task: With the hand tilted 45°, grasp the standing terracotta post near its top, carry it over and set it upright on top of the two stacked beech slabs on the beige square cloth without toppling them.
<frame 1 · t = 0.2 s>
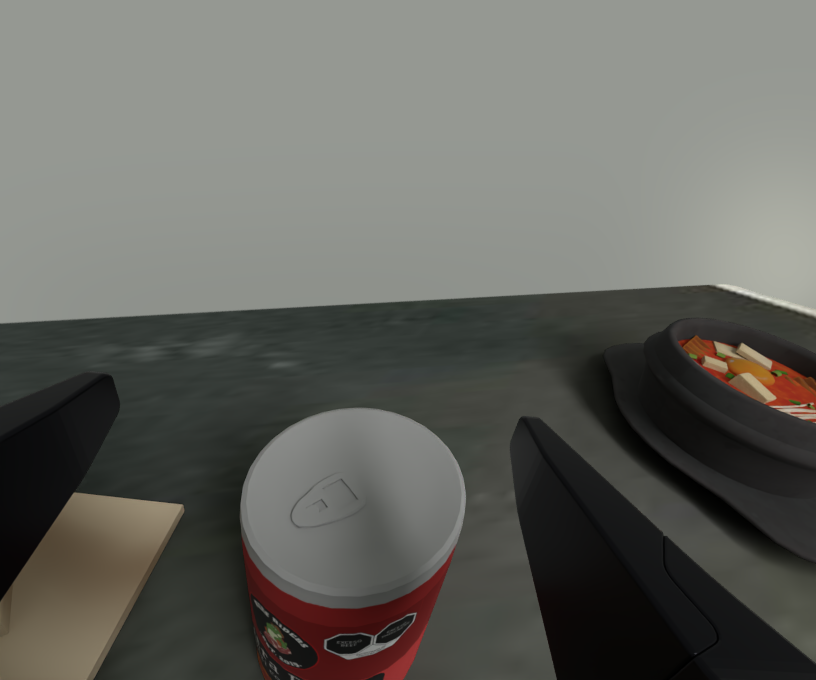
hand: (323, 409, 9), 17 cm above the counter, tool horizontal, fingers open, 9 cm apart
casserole: (712, 443, 37), on the counter
canned food: (341, 625, 21), on the counter
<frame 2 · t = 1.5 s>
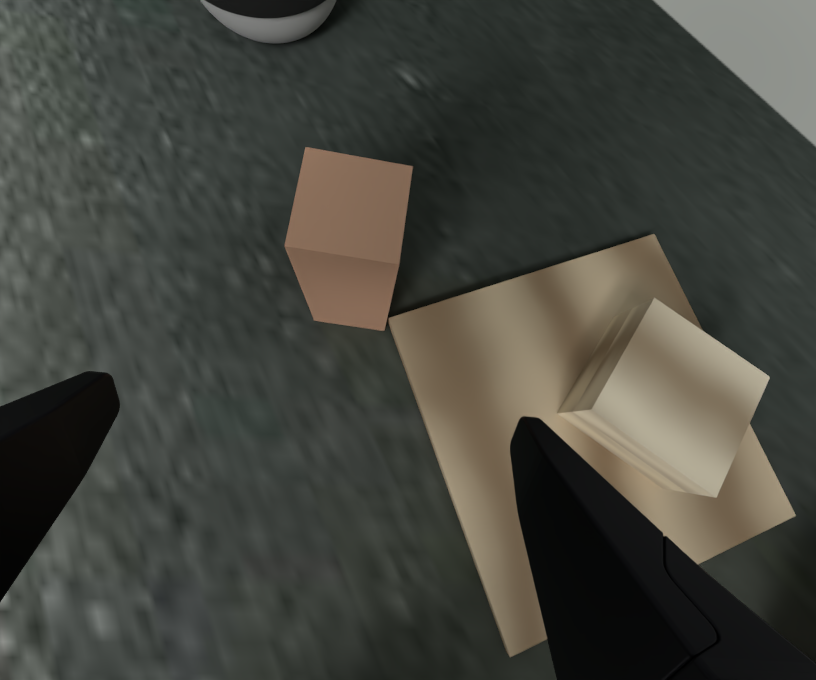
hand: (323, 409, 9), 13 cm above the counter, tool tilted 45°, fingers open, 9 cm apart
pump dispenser: (275, 11, 28), on the counter
slab top: (658, 396, 22), point 2 cm above the counter, touching slab bottom
post: (355, 292, 24), on the counter
slab bottom: (636, 399, 24), point 1 cm above the counter, touching beige square cloth, slab top
beige square cloth: (586, 417, 24), on the counter
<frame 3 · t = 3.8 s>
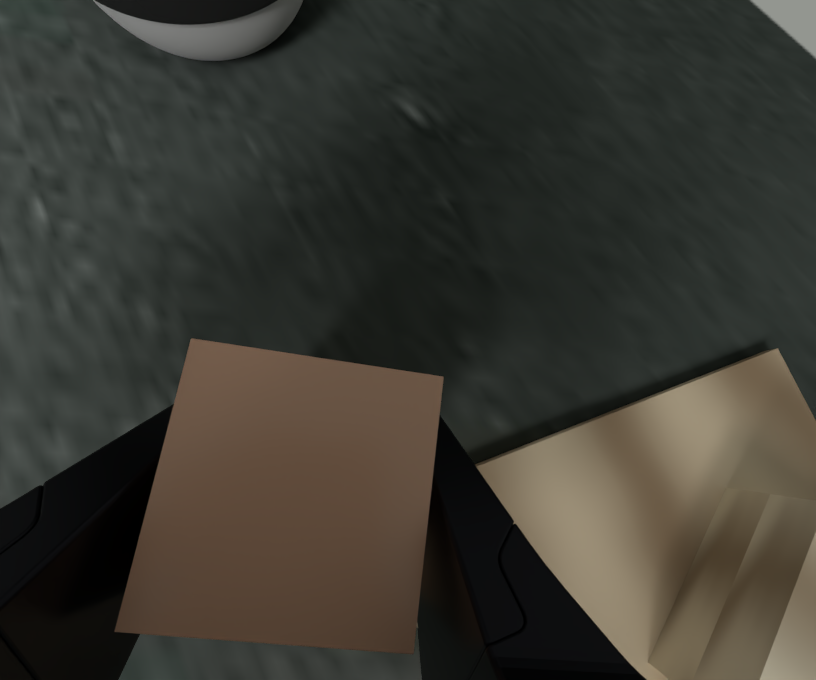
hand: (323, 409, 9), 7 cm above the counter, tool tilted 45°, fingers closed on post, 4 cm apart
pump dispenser: (220, 12, 19), on the counter
post: (326, 456, 15), on the counter, touching gripper
slab bottom: (769, 628, 15), point 1 cm above the counter, touching beige square cloth, slab top
beige square cloth: (689, 656, 15), on the counter
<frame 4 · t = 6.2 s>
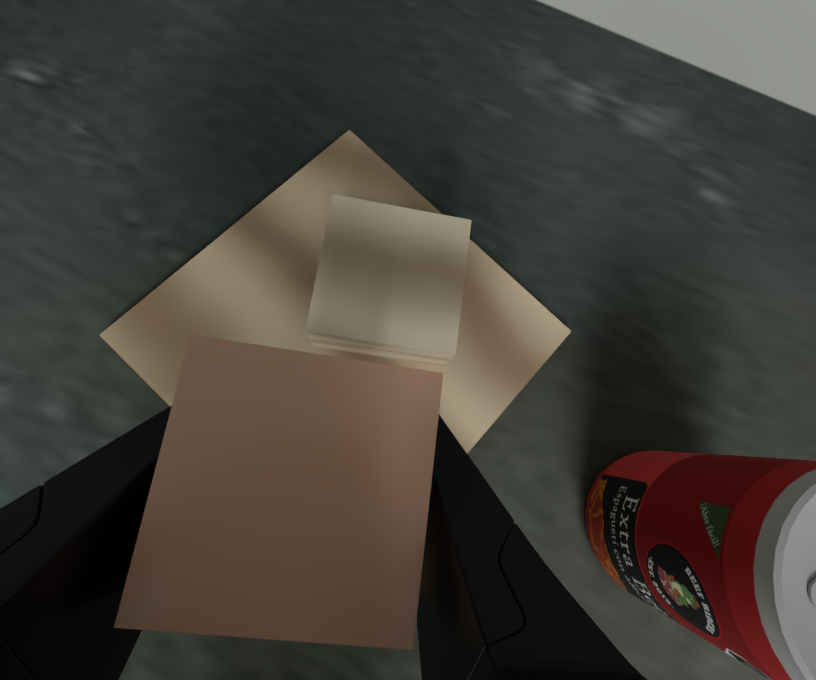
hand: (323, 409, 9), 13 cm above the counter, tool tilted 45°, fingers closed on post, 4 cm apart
slab top: (390, 285, 22), point 2 cm above the counter, touching slab bottom
post: (326, 454, 15), point 7 cm above the counter, touching gripper
slab bottom: (388, 296, 23), point 1 cm above the counter, touching beige square cloth, slab top
canned food: (646, 519, 23), on the counter
beige square cloth: (350, 335, 23), on the counter
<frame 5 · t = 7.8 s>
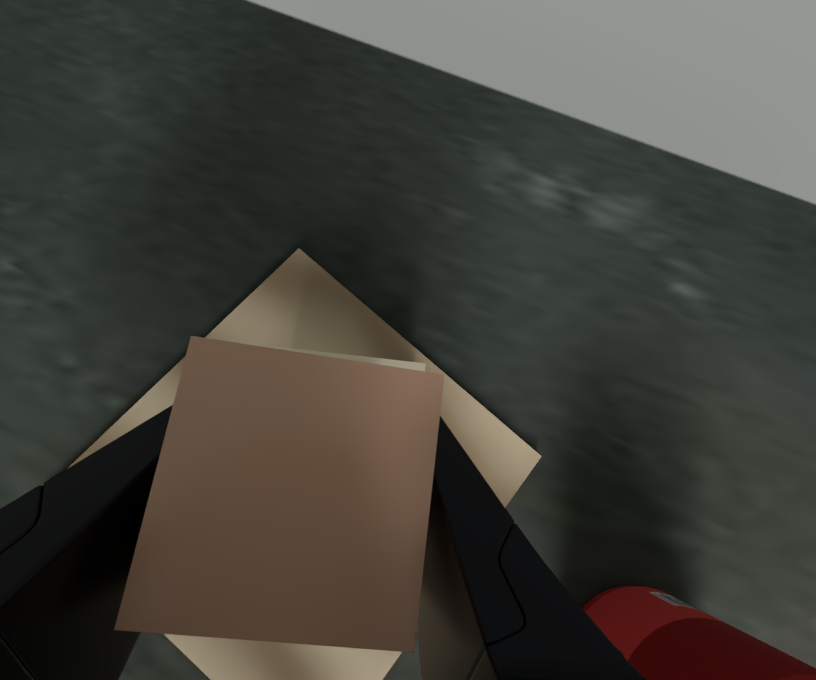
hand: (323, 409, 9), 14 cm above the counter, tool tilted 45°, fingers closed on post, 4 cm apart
slab top: (343, 432, 20), point 2 cm above the counter, touching slab bottom
post: (326, 455, 15), point 7 cm above the counter, touching gripper
canned food: (629, 659, 22), on the counter
beige square cloth: (306, 477, 22), on the counter
when the fingers open (12 cm above the counter, at t = 8.8 s): post moves 1 cm, resting on slab top.
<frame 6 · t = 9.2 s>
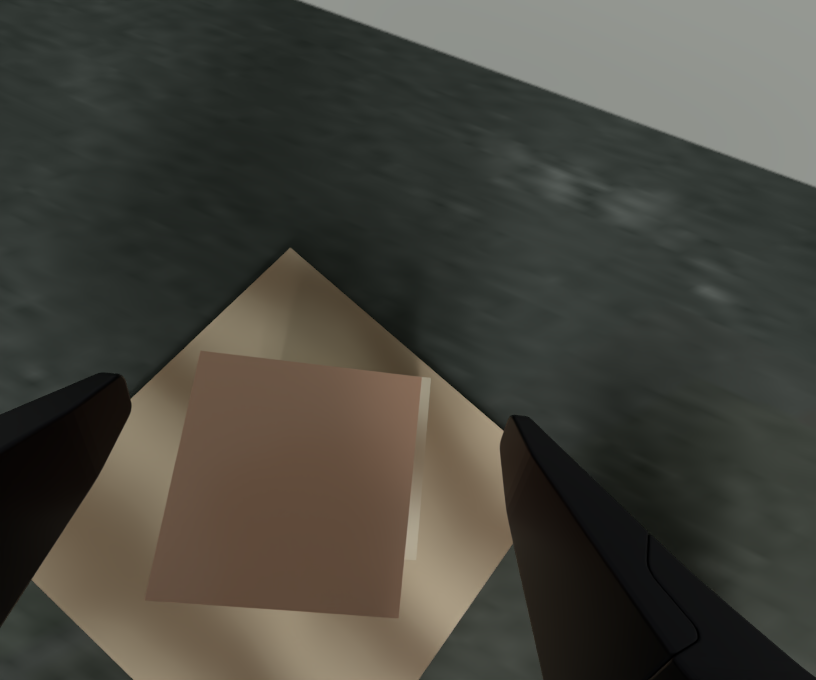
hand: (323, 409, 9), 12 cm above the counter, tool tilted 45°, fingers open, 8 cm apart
slab top: (338, 454, 18), point 2 cm above the counter, touching post, slab bottom
post: (332, 453, 16), point 4 cm above the counter, touching slab top
beige square cloth: (297, 502, 20), on the counter
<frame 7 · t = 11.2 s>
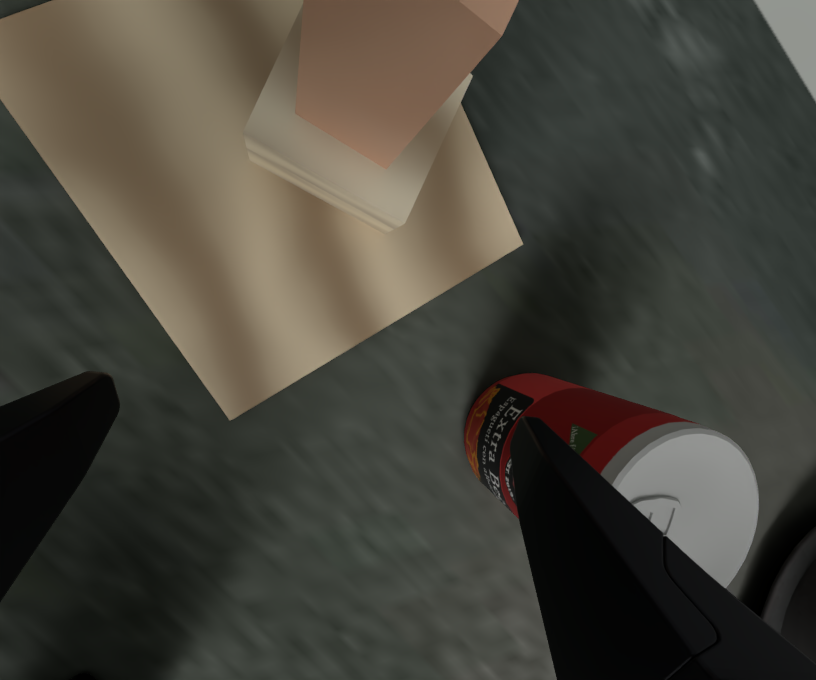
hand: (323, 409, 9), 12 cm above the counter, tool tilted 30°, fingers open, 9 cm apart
slab top: (357, 119, 18), point 2 cm above the counter, touching post, slab bottom
post: (363, 97, 17), point 4 cm above the counter, touching slab top
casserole: (807, 594, 36), on the counter
slab bottom: (351, 134, 20), point 1 cm above the counter, touching beige square cloth, slab top
canned food: (517, 430, 26), on the counter
beige square cloth: (295, 164, 20), on the counter
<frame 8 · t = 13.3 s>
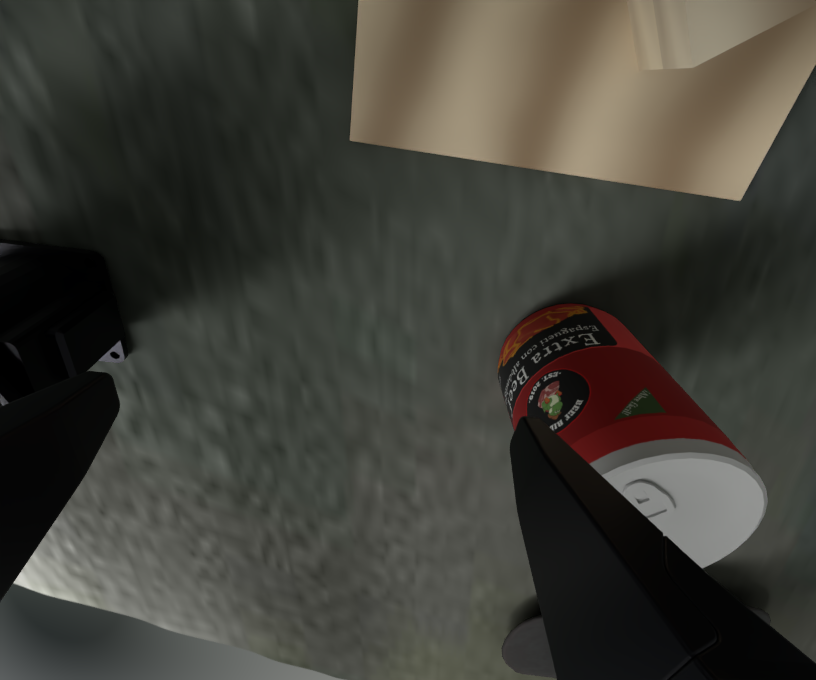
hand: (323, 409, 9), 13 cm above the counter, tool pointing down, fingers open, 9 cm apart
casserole: (621, 619, 42), on the counter
canned food: (558, 356, 25), on the counter
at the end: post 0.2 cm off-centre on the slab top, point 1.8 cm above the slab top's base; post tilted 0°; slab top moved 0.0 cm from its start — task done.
